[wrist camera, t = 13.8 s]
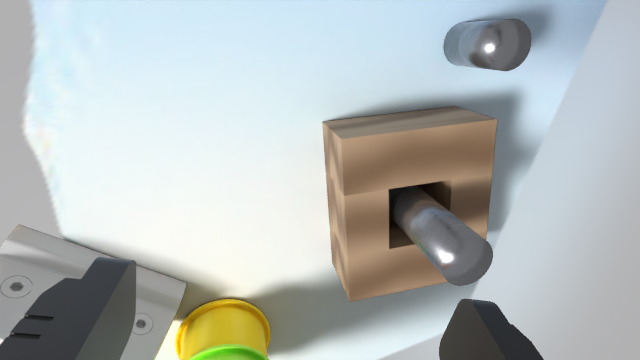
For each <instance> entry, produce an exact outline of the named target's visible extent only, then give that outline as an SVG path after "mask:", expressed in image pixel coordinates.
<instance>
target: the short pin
mask: <svg viewBox="0 0 640 360" xmlns="http://www.w3.org/2000/svg"><path fill="white" fill-rule="evenodd" d="M530 47H531V33H530V30H529V28H528V27H527V25H526V24H525V23H524V22H522V21H521V20H518V19H505V20H490V21H475V22H462V23H458V24H456V25H455V26H453V27H452V28H451V29H450V30H449V32H448V33H447V35H446V37H445V40H444V54H445V56H446V58H447V59H448V61H449V62H451V63H452V64H454V65H459V66H467V67H475V68H483V69H492V70H500V71H509V70H513V69H515V68H516V67H518V66H519V65H520V64H521V63H522V62H523V61H524V60H525V59H526V57H527V55H528V53H529V51H530Z"/></svg>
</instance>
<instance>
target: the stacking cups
mask: <svg viewBox="0 0 640 360" xmlns="http://www.w3.org/2000/svg"><path fill="white" fill-rule="evenodd" d="M269 341H270V327H269V323H268V321H267V319H266V317H265V316H264V314H263V313H262V312H261V311H260V310H259V309H258V308H256V307H255V306H253V305H252V304H250V303H247V302H244V301H240V300H235V299H222V300H216V301H212V302H209V303H207V304H204V305H202V306H200V307H198V308H197V309H195V310H194V311H193V312H191V313H190V314H189V315H188V316H187V317H186V318H185V319H184V321H183V322H182V323H181V325H180V327H179V329H178V332H177V335H176V340H175V347H176V352H177V355H178V357H179V359H180V360H269V359H268V358H267V351H266V350H267V348H268V345H269Z"/></svg>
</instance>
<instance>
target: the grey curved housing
mask: <svg viewBox="0 0 640 360" xmlns="http://www.w3.org/2000/svg"><path fill="white" fill-rule="evenodd" d="M97 257H107V258H114V257H111V256H108V255H105V254H102V253H100V252H97V251H94V250H91V249H88V248H85V247H82V246H80V245H77V244H74V243H71V242H68V241H65V240H62V239H59V238H57V237H54V236H51V235H48V234H45V233H42V232H39V231H37V230H34V229H31V228H28V227H25V226H22V225H18V226H17V227H16V228H15V229H14V230H13V232H12V233H11V234H10V235H9V236H8V238H7V239H6V241H5V242H4V244H3V245H2V247H1V248H0V344H1V343H2V342H3V341H4V339H5V338H6V337H9V335H10V332H11V331H12V329H13V328H14V327H15V326H16V324H17V323H18V322H19V321H20V319H23V318H24V314H25V313H26V312H27V311H28V309H29V308H30V307H31V306H32V304H33V303H34V302H35V301H36V299H37V298H38V297H39V296H40V295H41V293H43V292H44V291H46V290H48V289H49V288H51V287H52V286H54V285H55V284H57V283H58V282H60V281H61V280H63V279H64V278H75V279H81V278H82V277H83V276H84V274H85V273H86V271H87V270H88V268H89V267H90V266H91V264H92V263H93V261H94V260H95V259H96V258H97ZM116 259H117V258H116ZM186 285H187V283H186V282H183V281H180V280H177V279H174V278H171V277H168V276H165V275H163V274H160V273H157V272H154V271H151V270H148V269H145V268H143V267H140V266H137V265H136V313H135V320H134V325H133V329H132V332H131V335H130V338H129V340H128V343H127V345H126V347H125V349H124V351H123V354H122V356H121V358H120V360H154V359H155V357H156V355H157V353H158V351H159V349H160V347H161V345H162V343H163V341H164V339H165V337H166V334H167V332H168V330H169V328H170V326H171V324H172V322H173V320H174V318H175V315H176V313H177V311H178V309H179V307H180V304H181V301H182V298H183V295H184V292H185V288H186Z"/></svg>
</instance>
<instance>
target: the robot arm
mask: <svg viewBox="0 0 640 360" xmlns="http://www.w3.org/2000/svg"><path fill="white" fill-rule="evenodd" d="M135 313H136V262H135V261H134V260H125V259H116V258H107V257H97V258H96V259H95V260H94V261H93V263H92V264H91V266H90V267H89V268H88V270H87V271H86V273H85V274H84V276H83V277H82V278H81V279H75V278H64V279H63V280H61V281H60V282H58V283H57V284H55V285H54V286H52V287H51V288H49V289H48V290H46V291H44V292H43V293H41V295H40V296H39V297H38V298H37V299H36V301H35V302H34V303H33V304H32V306H31V307H30V308H29V309H28V311H27V312H26V313H25V314H24V318H23V319H20V321H19V322H18V323H17V324H16V326H15V327H14V328H13V329H12V331H11V332H10V335H9V337H6V338H5V339H4V341H3V342H2V343H1V344H0V360H120V358H121V356H122V354H123V351H124V349H125V347H126V345H127V343H128V340H129V338H130V335H131V332H132V329H133V325H134V320H135ZM439 356H440V360H544V359H543V358H542V356H541V355H540V354H539V352H538V351H537V349H536V348H535V346H534V345H533V344H532V342H531V341H530V340H529V339H528V338H527V337H526V336H524V335H523V334H522V333H521V332H520V331H519V330H518V329H517V328H516V327H515V326H514V325H511V324H510V323H509V322H508V320H507V319H506V318H505V316H504V315H503V313H502V312H501V310H500V309H499V307H498V306H497V305H496V304H495V303H493V302H490V301H481V300H472V299H462V300H461V301H460V302H459V303H458V305H457V307H456V309H455V311H454V314H453V316H452V318H451V320H450V322H449V324H448V326H447V328H446V330H445V333H444V335H443V337H442V339H441V342H440V347H439Z"/></svg>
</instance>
